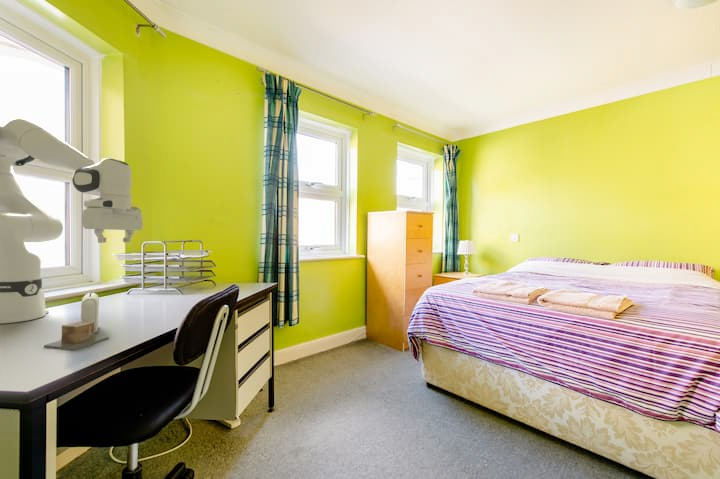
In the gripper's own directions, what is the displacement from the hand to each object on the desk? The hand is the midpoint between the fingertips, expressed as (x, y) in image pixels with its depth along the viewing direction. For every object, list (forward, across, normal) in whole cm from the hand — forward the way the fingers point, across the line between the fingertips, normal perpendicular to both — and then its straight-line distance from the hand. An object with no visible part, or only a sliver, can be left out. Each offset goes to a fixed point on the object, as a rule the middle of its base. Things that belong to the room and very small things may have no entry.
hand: (114, 242), depth 109 cm
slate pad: (+29, +19, +9) cm, 36 cm away
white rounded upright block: (+29, +9, +1) cm, 31 cm away
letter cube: (+28, +19, +9) cm, 35 cm away
